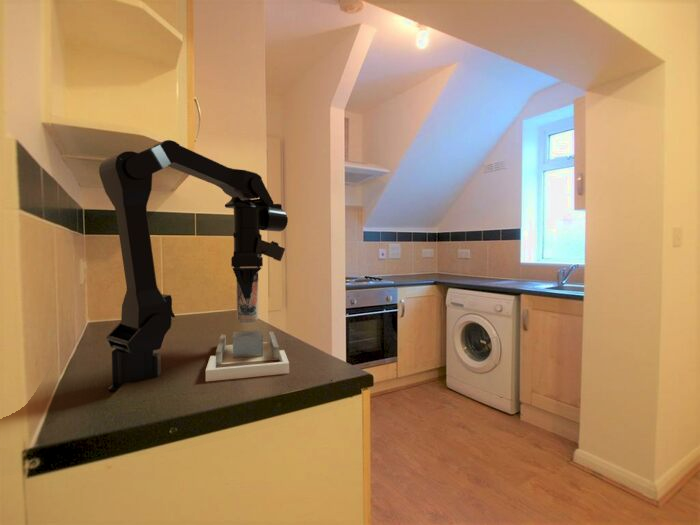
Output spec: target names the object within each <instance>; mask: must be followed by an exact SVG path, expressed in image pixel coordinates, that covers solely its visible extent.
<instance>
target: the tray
mask: <svg viewBox="0 0 700 525" xmlns="http://www.w3.org/2000/svg"><path fill="white" fill-rule="evenodd" d="M278 360H279V361H278V362H269V363H268V362H267V363H255V364H246V365H232V366H224V367H223V366H222V367H217V365H216V354H215V355H210V357H209V359H208V361H207V362H208V363H207V365H206V368H205V382H214V381H222V380H223V381H225V380H226V381H227V380H233V379H235V380H236V379H244V378H253V377H263V376H264V377H266V376H274V375H285V374H290V361H289V359H288V357H287V354H286V352H285V349H279V359H278Z"/></svg>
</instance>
